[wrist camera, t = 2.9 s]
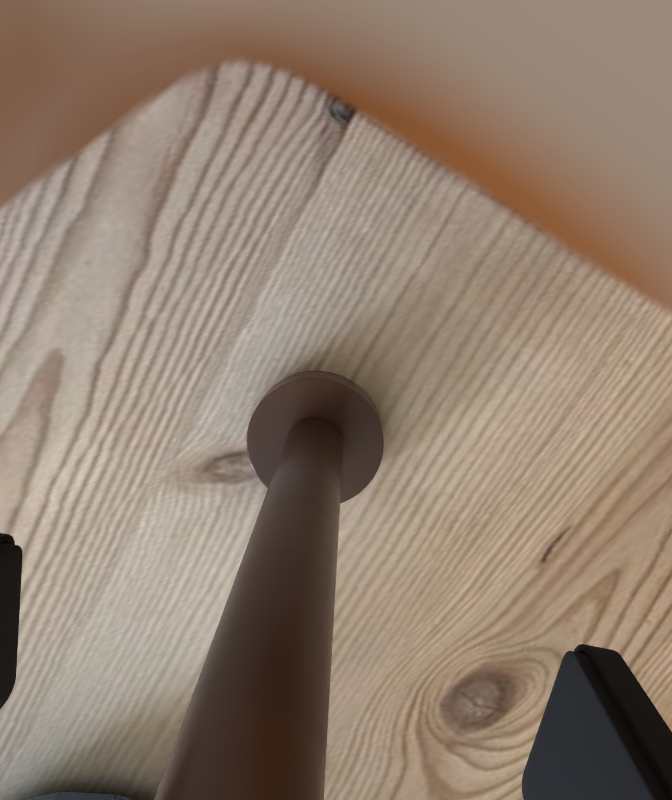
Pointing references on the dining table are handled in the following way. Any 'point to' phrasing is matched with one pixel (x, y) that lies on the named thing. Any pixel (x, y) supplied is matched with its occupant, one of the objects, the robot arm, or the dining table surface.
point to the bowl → (78, 796)
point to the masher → (280, 604)
